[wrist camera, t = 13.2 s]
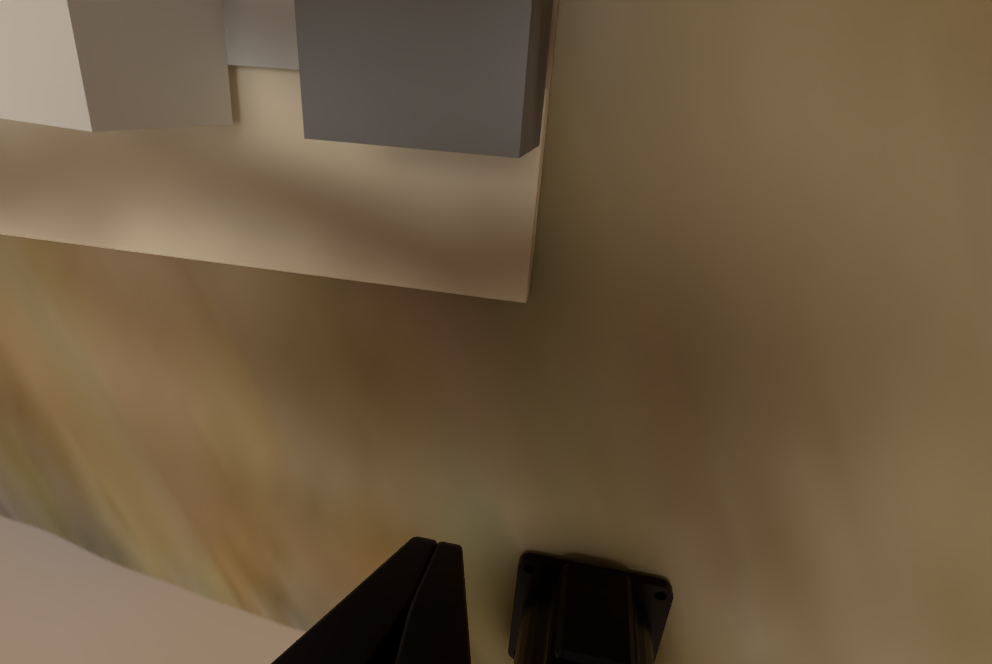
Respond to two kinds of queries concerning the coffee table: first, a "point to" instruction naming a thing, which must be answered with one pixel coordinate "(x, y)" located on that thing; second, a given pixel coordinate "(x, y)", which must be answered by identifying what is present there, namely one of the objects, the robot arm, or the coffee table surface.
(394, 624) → the robot arm
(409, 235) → the rail panel
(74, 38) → the module block
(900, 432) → the coffee table surface
